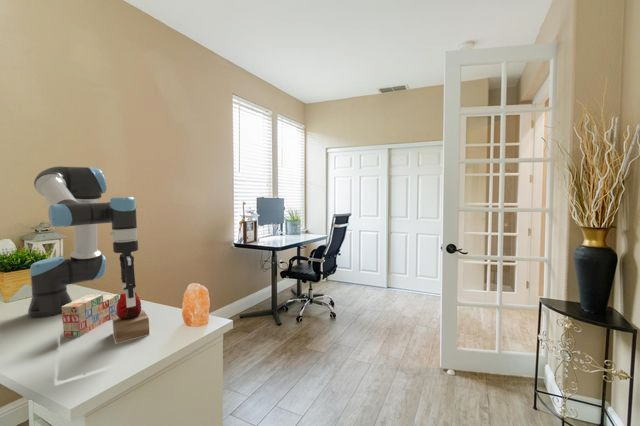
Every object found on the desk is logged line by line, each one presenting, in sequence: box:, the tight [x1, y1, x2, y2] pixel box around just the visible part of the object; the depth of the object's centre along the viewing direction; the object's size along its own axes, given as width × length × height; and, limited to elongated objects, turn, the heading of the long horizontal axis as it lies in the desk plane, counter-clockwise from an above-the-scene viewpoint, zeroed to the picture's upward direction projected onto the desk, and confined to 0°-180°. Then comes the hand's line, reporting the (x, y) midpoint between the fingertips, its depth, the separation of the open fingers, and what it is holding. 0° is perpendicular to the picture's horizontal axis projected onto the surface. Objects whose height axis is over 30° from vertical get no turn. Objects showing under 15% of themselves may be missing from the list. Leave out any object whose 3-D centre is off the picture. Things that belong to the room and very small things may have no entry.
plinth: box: [112, 309, 151, 344], centre depth 112 cm, size 10×10×6 cm
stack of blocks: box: [61, 293, 120, 337], centre depth 122 cm, size 21×6×12 cm, turn 178°
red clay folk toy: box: [117, 291, 142, 319], centre depth 112 cm, size 8×7×15 cm
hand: (129, 303), depth 112 cm, fingers open, 8 cm apart
